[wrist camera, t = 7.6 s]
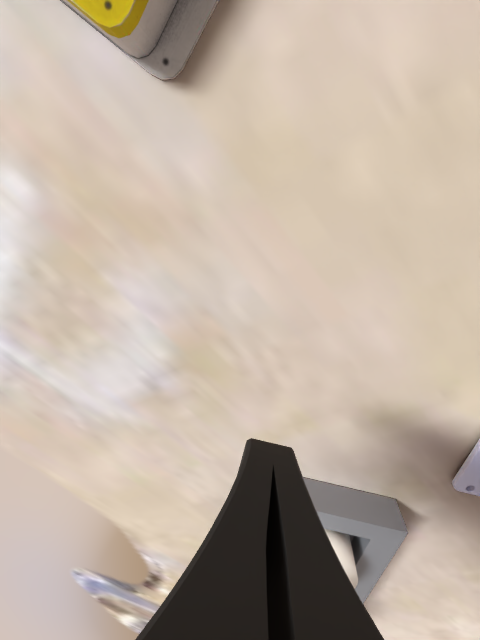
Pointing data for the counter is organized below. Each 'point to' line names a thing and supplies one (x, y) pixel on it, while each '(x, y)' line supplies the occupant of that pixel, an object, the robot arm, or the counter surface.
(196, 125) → the counter surface
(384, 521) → the grey slotted tray
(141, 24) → the emergency button
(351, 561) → the button cream
